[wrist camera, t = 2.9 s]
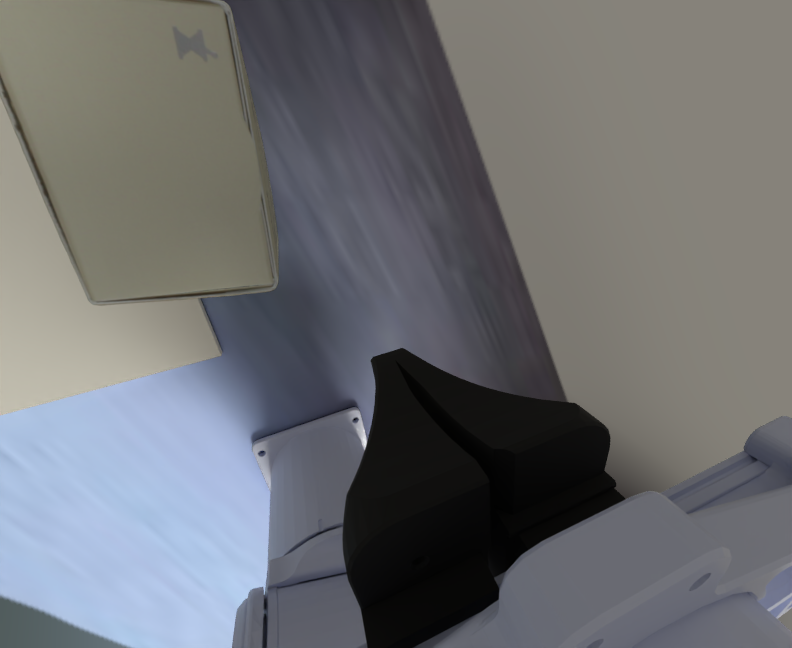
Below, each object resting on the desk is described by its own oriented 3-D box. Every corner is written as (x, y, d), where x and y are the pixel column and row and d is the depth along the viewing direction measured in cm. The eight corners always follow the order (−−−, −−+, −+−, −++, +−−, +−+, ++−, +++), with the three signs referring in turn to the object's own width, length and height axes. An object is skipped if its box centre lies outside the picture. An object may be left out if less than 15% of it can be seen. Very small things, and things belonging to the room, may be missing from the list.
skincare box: (170, 125, 16) (-78, -78, 5) (262, 129, 17) (229, -24, 6) (201, 254, 18) (78, 314, 7) (281, 249, 19) (281, 292, 8)
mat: (222, 352, 20) (221, 355, 20) (-38, 422, 17) (-47, 428, 16) (68, -21, 13) (60, -29, 13) (-419, -27, 10) (-452, -38, 10)
